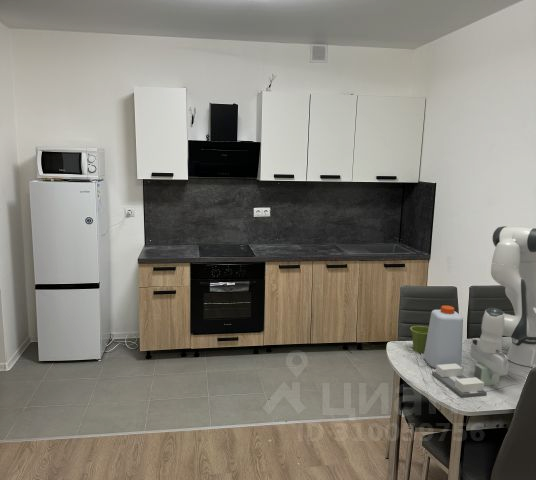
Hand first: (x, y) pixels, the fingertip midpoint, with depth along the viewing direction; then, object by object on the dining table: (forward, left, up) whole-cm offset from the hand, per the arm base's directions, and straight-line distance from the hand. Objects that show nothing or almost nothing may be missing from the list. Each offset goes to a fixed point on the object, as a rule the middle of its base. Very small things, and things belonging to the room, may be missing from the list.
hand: (486, 375), depth 208 cm
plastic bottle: (+8, -21, -3) cm, 23 cm away
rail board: (+14, 0, -3) cm, 14 cm away
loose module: (0, 0, -3) cm, 3 cm away
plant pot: (+10, -37, -3) cm, 38 cm away
